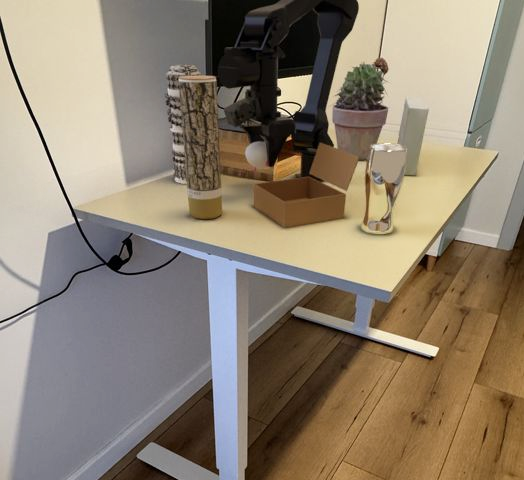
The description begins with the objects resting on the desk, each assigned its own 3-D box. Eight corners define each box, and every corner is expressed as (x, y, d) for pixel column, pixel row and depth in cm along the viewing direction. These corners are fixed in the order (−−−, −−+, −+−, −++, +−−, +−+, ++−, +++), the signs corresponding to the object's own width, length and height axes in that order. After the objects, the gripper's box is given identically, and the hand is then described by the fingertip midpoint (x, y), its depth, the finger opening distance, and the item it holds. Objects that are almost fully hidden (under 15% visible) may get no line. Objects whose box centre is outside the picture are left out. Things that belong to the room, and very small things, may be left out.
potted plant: (310, 159, 142) (315, 59, 128) (341, 147, 156) (349, 55, 142) (367, 168, 134) (379, 62, 120) (395, 154, 147) (409, 58, 133)
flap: (319, 142, 106) (320, 142, 106) (309, 173, 108) (310, 173, 108) (358, 156, 95) (360, 156, 95) (345, 190, 97) (346, 191, 98)
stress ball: (278, 183, 112) (288, 155, 112) (264, 169, 105) (274, 139, 104) (250, 177, 115) (260, 150, 115) (235, 163, 108) (244, 134, 108)
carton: (253, 206, 106) (253, 183, 104) (308, 198, 111) (309, 176, 109) (284, 227, 96) (285, 203, 93) (343, 217, 100) (346, 194, 98)
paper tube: (209, 222, 98) (200, 79, 84) (182, 216, 101) (170, 77, 87) (228, 213, 103) (223, 76, 89) (203, 207, 106) (194, 74, 92)
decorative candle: (169, 176, 126) (157, 64, 112) (204, 173, 129) (197, 63, 115) (177, 186, 119) (166, 67, 105) (214, 182, 122) (208, 66, 108)
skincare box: (417, 176, 127) (429, 108, 118) (396, 175, 128) (406, 107, 119) (413, 157, 144) (423, 97, 135) (394, 156, 145) (403, 96, 136)
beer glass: (356, 222, 98) (365, 142, 90) (391, 223, 98) (404, 142, 90) (361, 235, 92) (371, 150, 84) (398, 235, 92) (412, 151, 84)
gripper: (211, 81, 106) (215, 157, 114) (246, 91, 92) (247, 177, 100) (258, 79, 109) (258, 153, 118) (298, 88, 96) (295, 171, 104)
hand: (263, 163), depth 110 cm, fingers closed on stress ball, 7 cm apart
